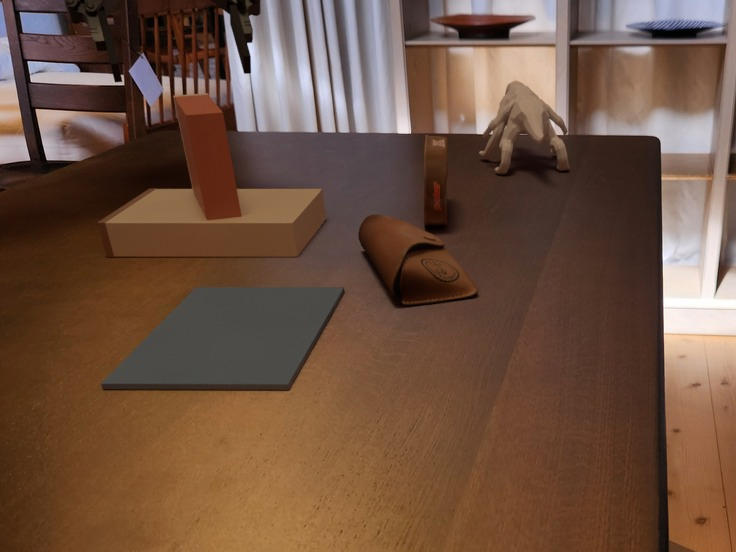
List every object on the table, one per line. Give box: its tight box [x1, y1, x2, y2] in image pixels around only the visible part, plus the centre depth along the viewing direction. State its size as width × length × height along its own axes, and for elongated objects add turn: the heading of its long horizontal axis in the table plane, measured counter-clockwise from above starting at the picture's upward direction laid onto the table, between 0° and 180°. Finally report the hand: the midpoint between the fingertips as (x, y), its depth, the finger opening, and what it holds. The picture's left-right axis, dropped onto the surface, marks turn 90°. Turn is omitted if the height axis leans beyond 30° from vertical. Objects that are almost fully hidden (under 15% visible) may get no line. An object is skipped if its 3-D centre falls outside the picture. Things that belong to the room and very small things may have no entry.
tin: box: [423, 134, 449, 227], centre depth 101 cm, size 15×3×8 cm, turn 4°
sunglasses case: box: [357, 214, 479, 306], centre depth 86 cm, size 18×7×7 cm
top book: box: [172, 92, 241, 220], centre depth 93 cm, size 4×12×10 cm, turn 23°
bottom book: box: [97, 187, 327, 258], centre depth 97 cm, size 20×14×4 cm
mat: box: [100, 286, 345, 391], centre depth 74 cm, size 14×21×1 cm, turn 178°
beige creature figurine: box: [478, 79, 570, 175], centre depth 121 cm, size 12×25×10 cm, turn 11°
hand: (183, 69), depth 96 cm, fingers open, 13 cm apart
